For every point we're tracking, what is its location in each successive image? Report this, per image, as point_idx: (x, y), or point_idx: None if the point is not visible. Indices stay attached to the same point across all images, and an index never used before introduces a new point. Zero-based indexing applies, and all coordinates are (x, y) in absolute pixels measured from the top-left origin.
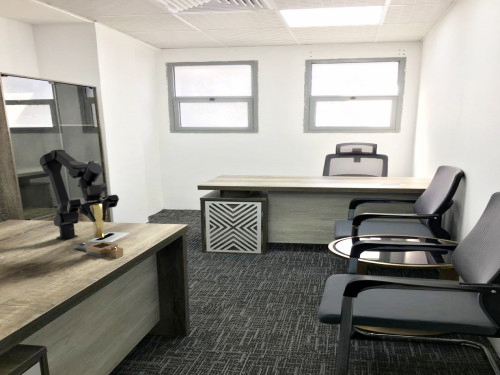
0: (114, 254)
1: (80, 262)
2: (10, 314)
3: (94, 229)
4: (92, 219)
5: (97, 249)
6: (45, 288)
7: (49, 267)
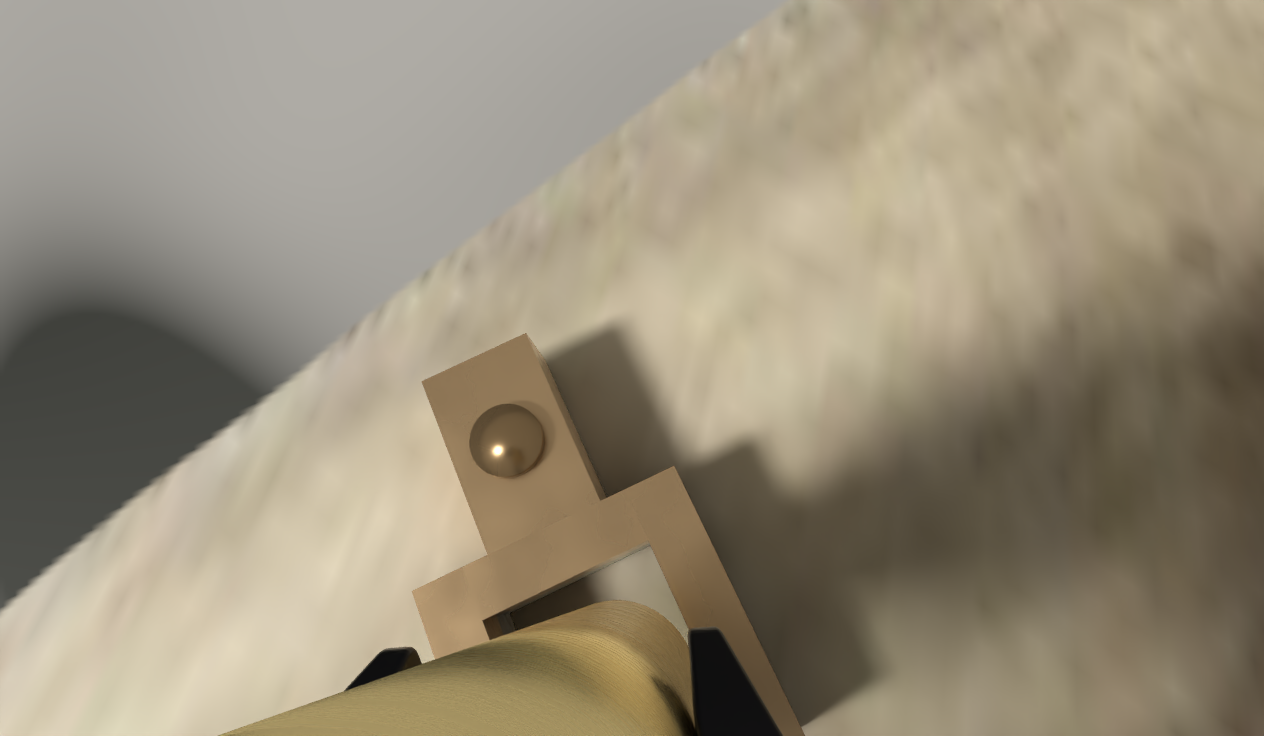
0: (544, 367)
1: (896, 468)
2: None
3: None
4: (749, 688)
5: (696, 517)
6: (1210, 7)
7: (1230, 499)
